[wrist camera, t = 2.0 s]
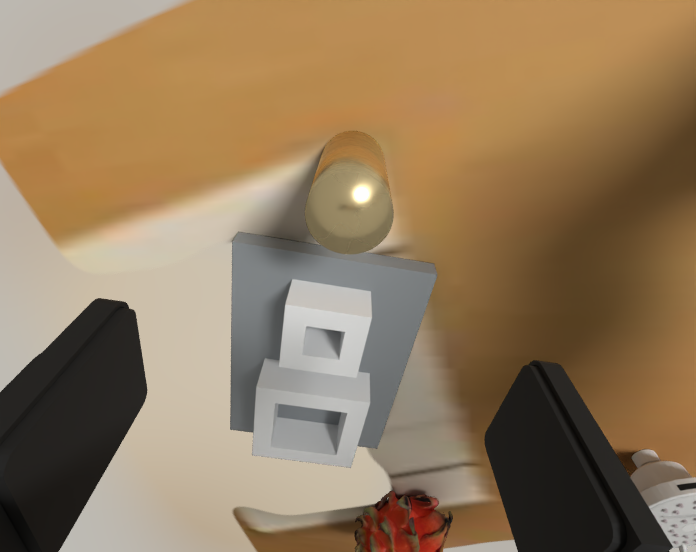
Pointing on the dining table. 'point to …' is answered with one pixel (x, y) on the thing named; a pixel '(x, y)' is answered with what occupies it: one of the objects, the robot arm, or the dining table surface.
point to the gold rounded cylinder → (350, 195)
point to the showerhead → (668, 496)
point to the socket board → (319, 345)
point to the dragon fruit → (403, 525)
